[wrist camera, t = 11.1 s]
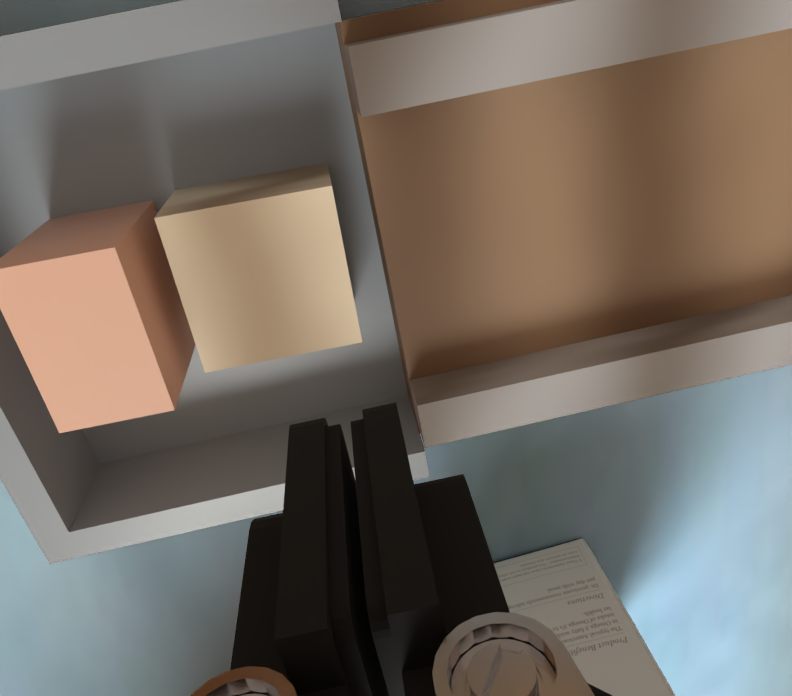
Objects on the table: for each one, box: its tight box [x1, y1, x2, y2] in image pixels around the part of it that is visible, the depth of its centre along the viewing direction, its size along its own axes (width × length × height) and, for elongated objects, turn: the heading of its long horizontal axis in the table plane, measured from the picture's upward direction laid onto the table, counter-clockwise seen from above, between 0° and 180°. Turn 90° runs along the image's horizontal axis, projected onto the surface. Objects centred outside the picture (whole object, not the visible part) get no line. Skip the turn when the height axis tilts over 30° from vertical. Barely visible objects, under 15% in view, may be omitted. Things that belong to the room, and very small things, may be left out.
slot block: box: [335, 0, 792, 448], centre depth 19 cm, size 16×12×4 cm
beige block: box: [154, 163, 362, 373], centre depth 19 cm, size 4×4×3 cm
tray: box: [0, 0, 430, 564], centre depth 19 cm, size 12×14×4 cm
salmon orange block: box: [0, 200, 196, 433], centre depth 18 cm, size 4×4×3 cm
